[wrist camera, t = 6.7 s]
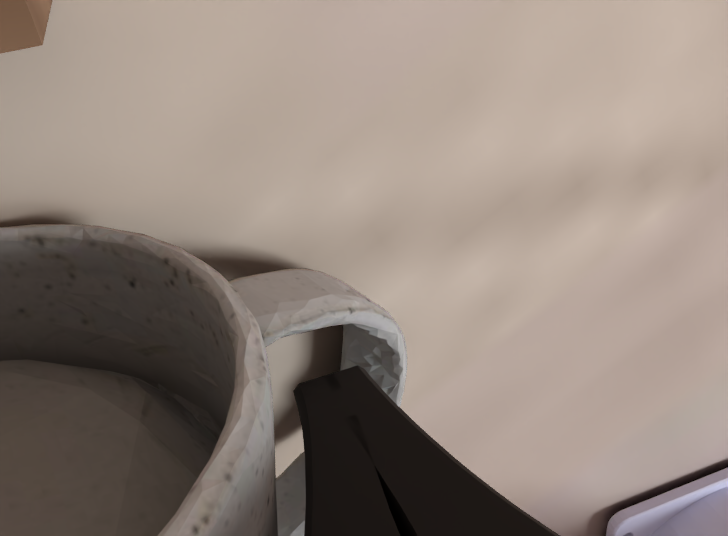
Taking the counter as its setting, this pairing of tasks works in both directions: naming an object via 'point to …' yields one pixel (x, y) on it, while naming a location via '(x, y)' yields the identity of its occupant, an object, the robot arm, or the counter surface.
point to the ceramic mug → (156, 385)
